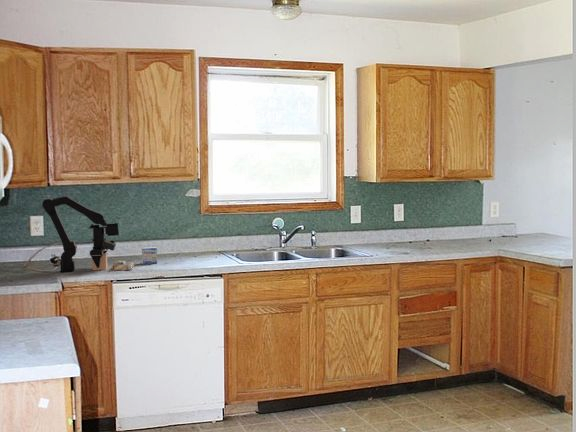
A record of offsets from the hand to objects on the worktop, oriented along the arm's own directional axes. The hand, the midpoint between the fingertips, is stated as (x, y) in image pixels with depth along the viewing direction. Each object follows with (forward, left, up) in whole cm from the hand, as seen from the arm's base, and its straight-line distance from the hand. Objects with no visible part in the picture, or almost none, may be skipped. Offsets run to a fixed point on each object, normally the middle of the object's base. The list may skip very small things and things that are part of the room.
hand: (99, 266), depth 359 cm
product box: (0, 0, -2) cm, 2 cm away
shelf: (+12, 0, -2) cm, 12 cm away
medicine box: (+24, +14, -2) cm, 28 cm away
